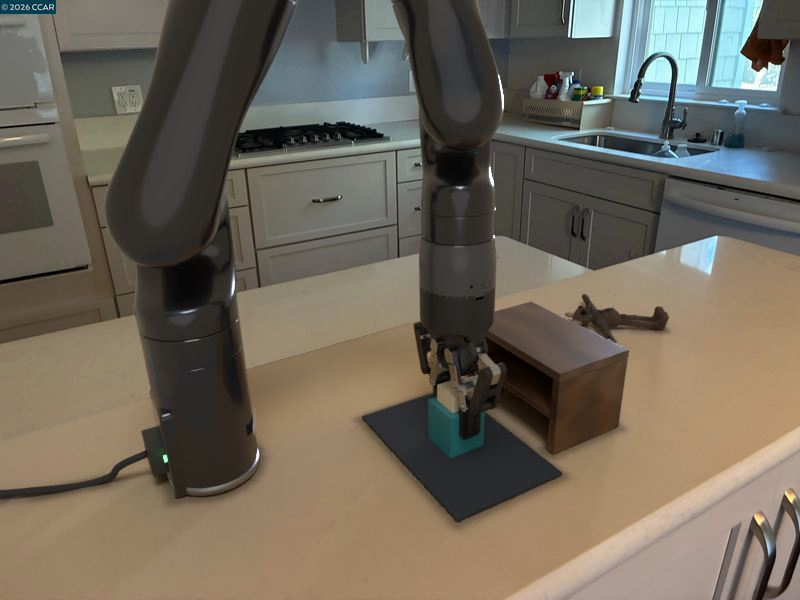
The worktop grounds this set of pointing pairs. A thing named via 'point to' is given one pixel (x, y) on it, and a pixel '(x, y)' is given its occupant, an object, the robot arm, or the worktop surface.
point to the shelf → (560, 371)
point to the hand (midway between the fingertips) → (455, 424)
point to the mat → (461, 460)
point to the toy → (450, 422)
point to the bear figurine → (615, 318)
